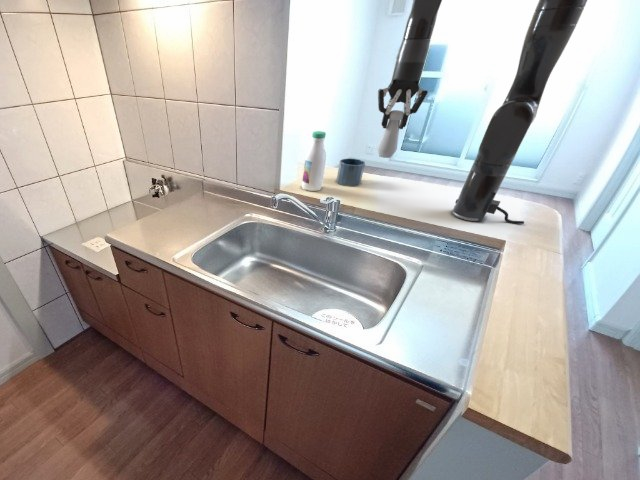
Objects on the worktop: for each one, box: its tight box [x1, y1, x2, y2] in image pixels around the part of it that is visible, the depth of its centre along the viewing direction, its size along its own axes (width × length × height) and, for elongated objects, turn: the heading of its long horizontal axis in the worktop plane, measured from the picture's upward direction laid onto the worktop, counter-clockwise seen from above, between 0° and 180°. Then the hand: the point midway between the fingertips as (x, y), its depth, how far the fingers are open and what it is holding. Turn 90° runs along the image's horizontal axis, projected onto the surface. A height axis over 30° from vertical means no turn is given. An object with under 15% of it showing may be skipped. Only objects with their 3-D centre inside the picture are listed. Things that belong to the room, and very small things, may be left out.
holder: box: [336, 158, 366, 187], centre depth 130 cm, size 10×10×8 cm
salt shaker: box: [377, 109, 404, 159], centre depth 102 cm, size 6×6×13 cm
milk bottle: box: [301, 130, 327, 192], centre depth 121 cm, size 8×8×20 cm
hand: (392, 128), depth 101 cm, fingers closed on salt shaker, 4 cm apart
